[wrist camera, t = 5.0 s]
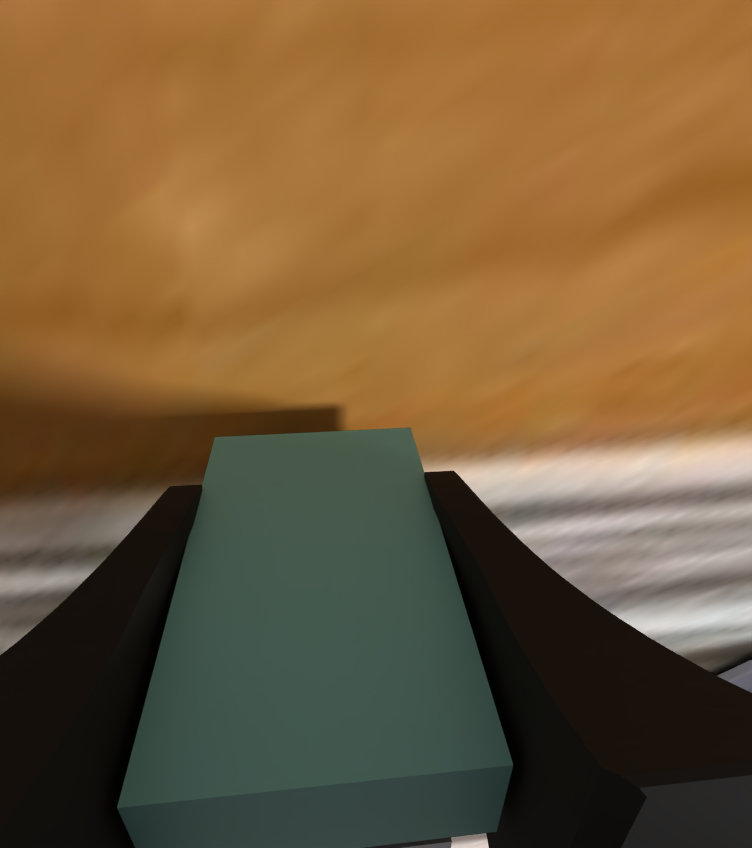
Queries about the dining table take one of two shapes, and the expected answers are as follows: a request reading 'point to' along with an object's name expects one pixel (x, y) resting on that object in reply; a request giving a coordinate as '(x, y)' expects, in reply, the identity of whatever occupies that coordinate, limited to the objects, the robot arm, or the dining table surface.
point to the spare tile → (315, 661)
